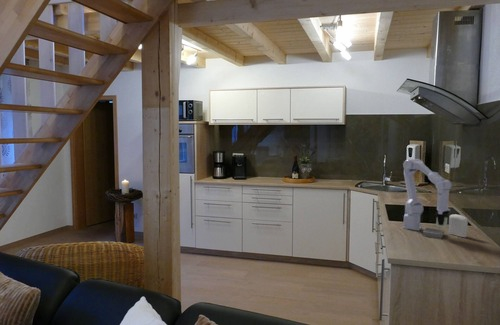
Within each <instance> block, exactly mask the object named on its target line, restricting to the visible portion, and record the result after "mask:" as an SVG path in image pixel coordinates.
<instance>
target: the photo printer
mask: <svg viewBox="0 0 500 325" xmlns="http://www.w3.org/2000/svg"><path fill="white" fill-rule="evenodd" d="M468 222H469V221H468V218H467V217H465V216H464V215H461V214H455V213H454V214H450V215H449V218H448V234H450V235H453V236H456V237H462V238H467V236H468V225H469V224H468Z"/></svg>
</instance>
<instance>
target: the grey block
mask: <svg viewBox="0 0 500 325" xmlns="http://www.w3.org/2000/svg"><path fill="white" fill-rule="evenodd" d="M444 236H445V230H444V229H437V228H433V227H432V228H430V227H425V229H423V231H422V237H426V238H427V237H428V238H434V239H443V237H444Z"/></svg>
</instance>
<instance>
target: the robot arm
mask: <svg viewBox="0 0 500 325" xmlns="http://www.w3.org/2000/svg"><path fill="white" fill-rule="evenodd" d="M402 166H403V177H404V182H405V188H406V194H407V201H406V202H405V213H404V215H403V225H402V228H403V229H405V230H413V231H418V232H419V231H420V230H421V229H422V226H421V215H422V214H423V212H424V206H423V204H422V201H421V200H420V199H419V198H418V194H417V187H416V182H415V177H414V174H415V173H416V172H418V171H420V172H422V173H423V174H424V175H425V176H427V178H428V180H429V181H430V182H431V183H432V184H434V185H435V188H436V191H437V198H436V199H437V201H436V202H437V203H436V210H437V212H435V216H436V218H438V224H439V225H443V223H444V219H445V217H447V216H448V214H449V212H450V211H451V208H449V199H450V198H449V197H450V190H451V189H452V187H453V186H452V185H453V184H452V182H451V181H450V180H449V179H445V178H444V177H442V176H441V175H440V174H439V172H436V171H432V170H431V169H430V168H429V167H428V166H426V164H424V161H423V160H422V159H421V158H414V159H412V158H411V159H405V160H404V161H403V163H402Z"/></svg>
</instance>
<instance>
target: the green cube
mask: <svg viewBox="0 0 500 325" xmlns="http://www.w3.org/2000/svg"><path fill="white" fill-rule="evenodd" d="M435 219H436V222H435V226H436V227H438V228H442V229H443V228H444V229H446V228H447V227H448V217H447V216H446V217H445V219H444V223H443V225H439V224H438V218H437V217H436V218H435Z"/></svg>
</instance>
